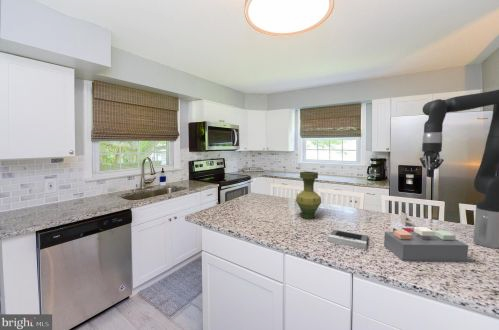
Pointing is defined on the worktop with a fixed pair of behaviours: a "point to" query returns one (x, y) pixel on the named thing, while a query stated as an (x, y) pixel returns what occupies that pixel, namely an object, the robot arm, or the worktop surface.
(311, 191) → the vase
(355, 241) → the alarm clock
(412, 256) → the key console
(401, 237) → the terracotta key
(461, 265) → the worktop surface
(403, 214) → the architectural model
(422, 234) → the cream key
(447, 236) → the sage key
